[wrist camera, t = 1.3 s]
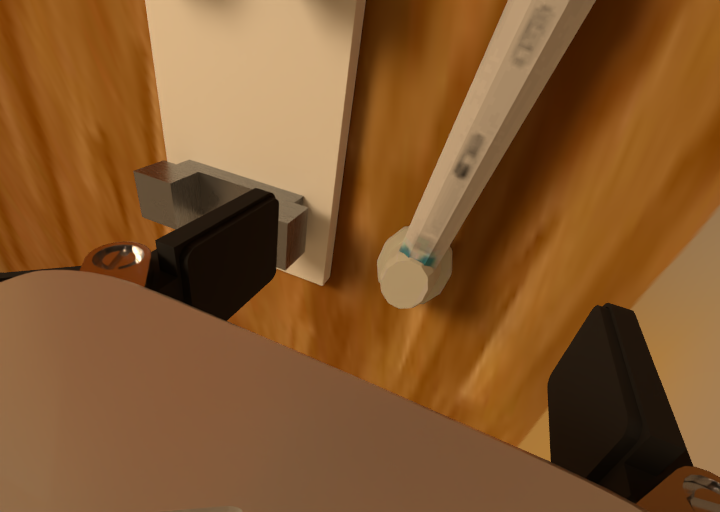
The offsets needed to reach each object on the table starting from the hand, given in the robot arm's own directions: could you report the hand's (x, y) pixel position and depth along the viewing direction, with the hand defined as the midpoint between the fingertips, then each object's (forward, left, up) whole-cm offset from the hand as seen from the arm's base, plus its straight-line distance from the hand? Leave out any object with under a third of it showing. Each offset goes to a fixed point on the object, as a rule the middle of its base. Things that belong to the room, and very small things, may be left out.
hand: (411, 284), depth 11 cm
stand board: (0, -17, -17) cm, 24 cm away
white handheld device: (-1, 0, -17) cm, 17 cm away
